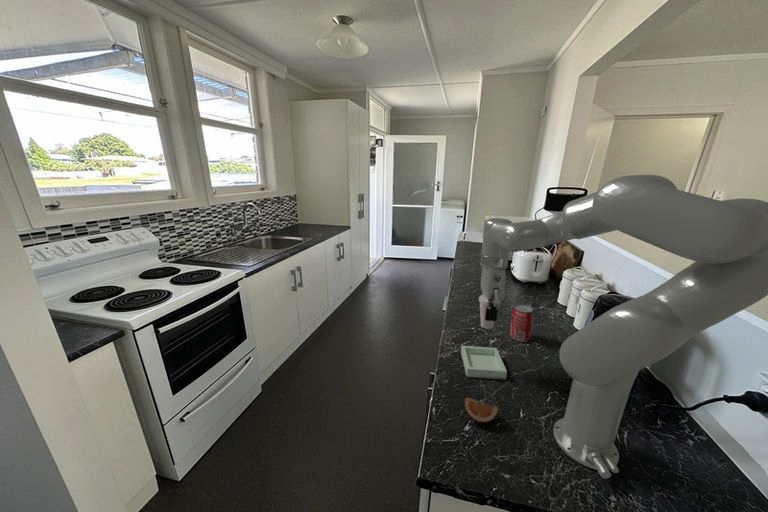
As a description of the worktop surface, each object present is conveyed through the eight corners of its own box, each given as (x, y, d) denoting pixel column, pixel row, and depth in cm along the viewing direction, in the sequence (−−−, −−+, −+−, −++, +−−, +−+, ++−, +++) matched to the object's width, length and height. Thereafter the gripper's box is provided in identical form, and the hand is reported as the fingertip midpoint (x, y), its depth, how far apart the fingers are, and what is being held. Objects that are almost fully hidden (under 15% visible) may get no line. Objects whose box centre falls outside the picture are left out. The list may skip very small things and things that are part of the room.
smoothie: (484, 332, 84) (488, 291, 80) (472, 322, 90) (476, 282, 86) (502, 329, 85) (507, 288, 81) (489, 319, 91) (493, 280, 87)
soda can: (532, 344, 103) (537, 313, 99) (511, 342, 104) (516, 311, 101) (526, 334, 110) (531, 304, 106) (507, 332, 111) (511, 303, 107)
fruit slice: (497, 412, 74) (499, 397, 73) (495, 433, 68) (498, 417, 67) (465, 402, 77) (466, 388, 76) (461, 421, 71) (463, 406, 70)
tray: (505, 379, 86) (507, 371, 85) (466, 376, 87) (467, 368, 86) (495, 355, 97) (496, 348, 96) (460, 352, 98) (461, 345, 98)
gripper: (517, 270, 73) (508, 330, 78) (499, 252, 89) (493, 303, 94) (487, 269, 73) (481, 328, 79) (475, 252, 90) (470, 302, 95)
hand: (487, 314), depth 86 cm, fingers closed on smoothie, 6 cm apart
